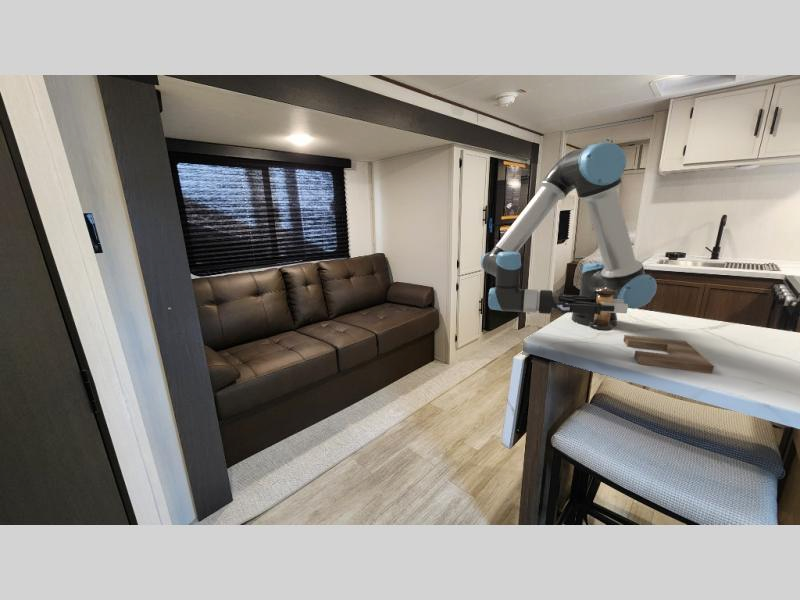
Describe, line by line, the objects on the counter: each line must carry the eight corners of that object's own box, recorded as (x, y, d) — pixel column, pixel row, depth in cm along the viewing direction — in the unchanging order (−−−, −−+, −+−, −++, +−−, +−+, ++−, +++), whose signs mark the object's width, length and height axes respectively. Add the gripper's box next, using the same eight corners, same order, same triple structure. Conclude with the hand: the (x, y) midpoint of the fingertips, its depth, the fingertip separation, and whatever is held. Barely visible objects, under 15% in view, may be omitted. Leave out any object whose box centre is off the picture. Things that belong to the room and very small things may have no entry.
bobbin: (588, 323, 101) (592, 286, 98) (610, 324, 99) (615, 287, 96) (591, 329, 96) (595, 291, 93) (614, 331, 94) (620, 292, 91)
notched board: (623, 340, 106) (624, 334, 105) (683, 346, 100) (685, 340, 99) (639, 364, 90) (640, 357, 89) (712, 373, 84) (713, 366, 83)
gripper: (537, 305, 111) (616, 310, 102) (537, 321, 96) (630, 328, 87) (539, 284, 109) (620, 287, 100) (539, 296, 94) (635, 301, 85)
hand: (624, 306), depth 94 cm, fingers closed on bobbin, 4 cm apart
